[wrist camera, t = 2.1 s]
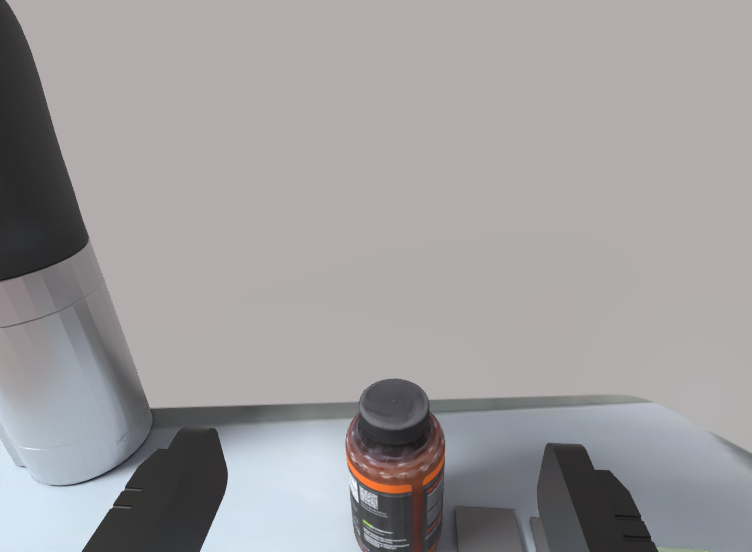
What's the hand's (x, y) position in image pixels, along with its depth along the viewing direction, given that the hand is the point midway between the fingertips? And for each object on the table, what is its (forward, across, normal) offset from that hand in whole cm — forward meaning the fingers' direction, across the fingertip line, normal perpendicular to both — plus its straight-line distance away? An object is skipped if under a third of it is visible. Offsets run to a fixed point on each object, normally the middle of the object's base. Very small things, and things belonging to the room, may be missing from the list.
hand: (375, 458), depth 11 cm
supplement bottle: (+11, 0, +20) cm, 23 cm away
